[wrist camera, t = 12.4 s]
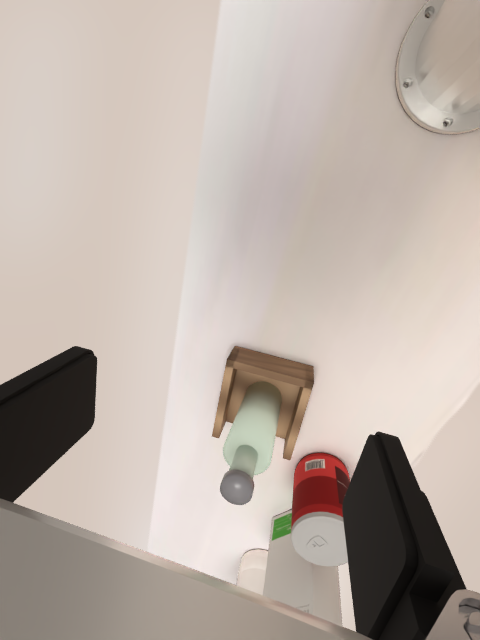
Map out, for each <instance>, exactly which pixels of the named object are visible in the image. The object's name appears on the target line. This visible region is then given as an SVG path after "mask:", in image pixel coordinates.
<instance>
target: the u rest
mask: <svg viewBox="0 0 480 640" xmlns="http://www.w3.org/2000/svg"><path fill="white" fill-rule="evenodd" d="M260 381H264V382H268V383H271V384H273V385H274V386H276V387H277V388H278V390H279V391H280V393H281V396H282V403H281V409H280V414H279V420H278V425H277V431H276V436H277V437H280V438H284V439H285V443H284V453H283V458H284V459H288V460H290V459H291V456H292V453H293V450H294V446H295V443H296V440H297V437H298V433H299V430H300V427H301V423H302V420H303V417H304V414H305V410H306V407H307V404H308V400H309V397H310V394H311V391H312V387H313V384H314V370H313V366H310V365H306V364H302V363H298V362H294V361H291V360H287V359H283V358H279V357H275V356H272V355H268V354H264V353H260V352H256V351H253V350H249V349H245V348H241V347H237V346H235V347H234V348H233V350H232V352H231V353H230V355H229V357H228V358H227V362H226V367H225V372H224V377H223V382H222V387H221V392H220V398H219V403H218V408H217V413H216V418H215V423H214V428H213V433H212V436H213V437H216V438H219V437H220V434H221V432H222V430H223V427H224V425H225V422H226V421H227V422H230V423H233V422H234V420H235V417H236V415H237V413H238V410H239V408H240V405H241V403H242V401H243V398H244V396H245V393H246V391H247V389H248V387H249V386H250V385H252V384H253V383H255V382H260Z"/></svg>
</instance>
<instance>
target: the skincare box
mask: <svg viewBox="0 0 480 640" xmlns="http://www.w3.org/2000/svg"><path fill="white" fill-rule="evenodd" d="M291 519H292V510H289V511H287V512H285V513H282V514H280V515H277V516H275V517H273V518H272V526H271V534H270V542H269V550H268V558H267V566H266V574H265V582H264V590H263V596H266V597H268V598H271V599H274V600H276V601H279V602H281V603H284V604H287V605H289V606H292V607H294V608H297V609H299V610H302V611H304V612H307V613H309V614H312V615H314V616H317V617H319V618H322V619H324V620H327V621H330V622H332V623H335V624H337V625H340V626H342V614H341V602H340V588H339V574H338V566H331V567H327V566H320V565H316V564H313V563H311V562H309V561H307V560H305V559H304V558H302V557H301V556H300V555H299V554H298V553H297V552H296V551H295V549H294V547H293V545H292V542H291Z"/></svg>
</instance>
